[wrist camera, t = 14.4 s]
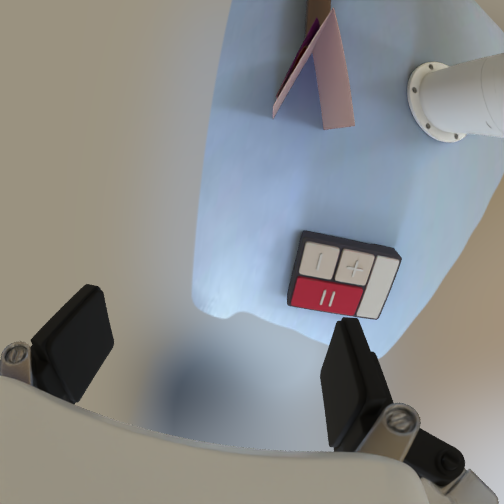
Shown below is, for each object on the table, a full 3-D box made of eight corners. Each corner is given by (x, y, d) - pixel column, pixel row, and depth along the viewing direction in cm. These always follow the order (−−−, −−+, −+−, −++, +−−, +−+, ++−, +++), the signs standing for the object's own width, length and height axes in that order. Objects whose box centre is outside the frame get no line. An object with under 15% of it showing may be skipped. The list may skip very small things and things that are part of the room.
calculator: (303, 238, 37) (404, 259, 36) (302, 228, 41) (395, 248, 40) (286, 308, 41) (379, 323, 40) (286, 293, 45) (373, 308, 44)
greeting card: (306, 48, 30) (324, 2, 16) (354, 75, 31) (398, 46, 17) (267, 115, 34) (263, 101, 21) (316, 142, 35) (343, 146, 21)
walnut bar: (328, -15, 25) (331, -22, 23) (325, 50, 30) (329, 45, 28) (307, -18, 25) (309, -25, 23) (303, 46, 30) (305, 41, 28)
